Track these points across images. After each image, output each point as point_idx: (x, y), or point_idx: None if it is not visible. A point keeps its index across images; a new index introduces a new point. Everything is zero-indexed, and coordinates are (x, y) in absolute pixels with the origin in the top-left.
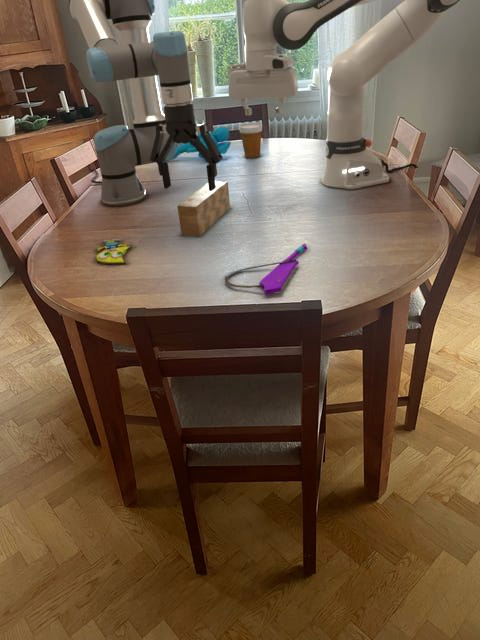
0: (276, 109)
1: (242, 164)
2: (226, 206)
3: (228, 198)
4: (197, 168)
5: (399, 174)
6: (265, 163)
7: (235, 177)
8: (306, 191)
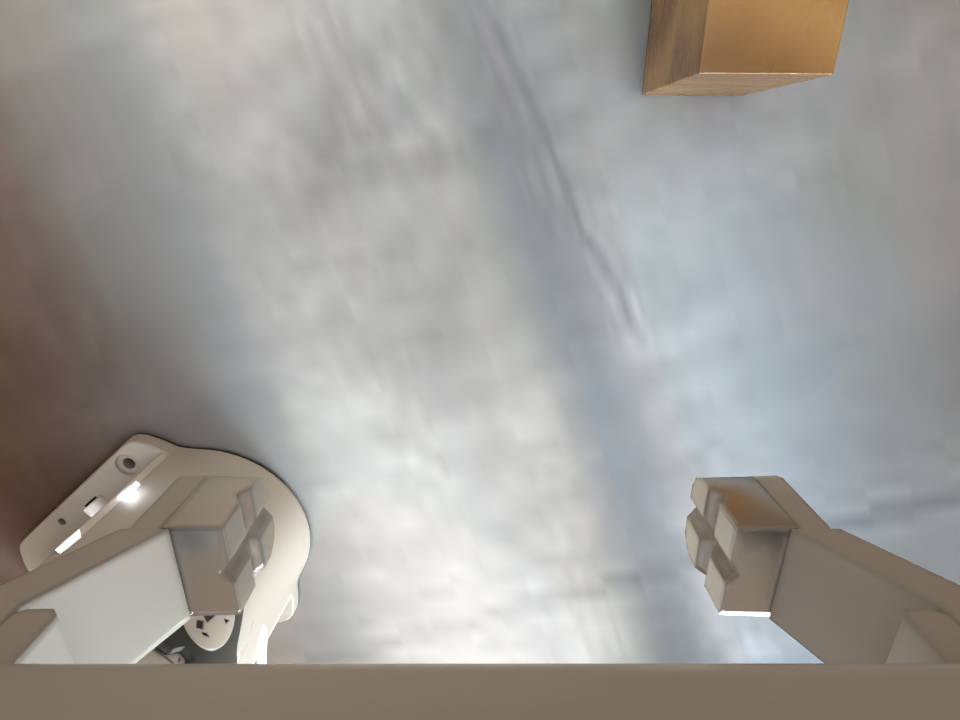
0: (210, 518)
1: None
2: (656, 33)
3: (661, 72)
4: None
5: None
6: None
7: None
8: (329, 393)
